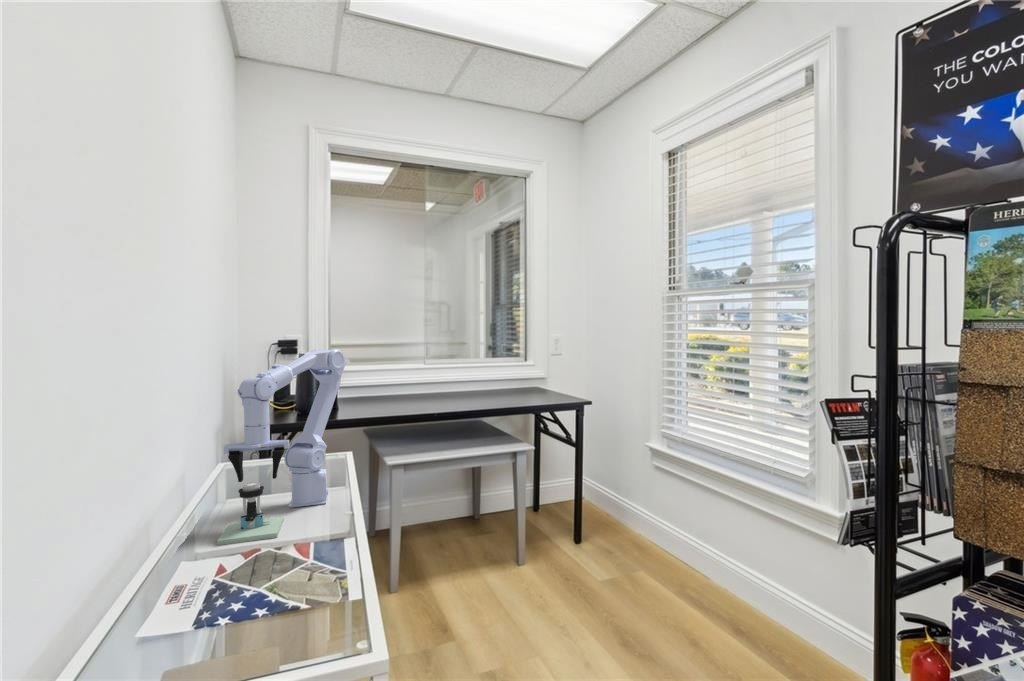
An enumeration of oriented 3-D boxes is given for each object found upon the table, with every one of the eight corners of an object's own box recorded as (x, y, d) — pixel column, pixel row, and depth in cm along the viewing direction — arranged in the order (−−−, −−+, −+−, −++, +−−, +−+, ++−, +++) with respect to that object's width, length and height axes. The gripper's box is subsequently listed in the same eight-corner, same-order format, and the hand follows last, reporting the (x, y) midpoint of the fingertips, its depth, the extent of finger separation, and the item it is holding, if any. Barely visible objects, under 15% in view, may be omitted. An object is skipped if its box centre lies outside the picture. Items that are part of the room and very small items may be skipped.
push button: (270, 520, 121) (269, 479, 121) (271, 527, 116) (270, 484, 116) (239, 525, 117) (238, 483, 118) (238, 532, 113) (238, 488, 113)
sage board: (283, 520, 123) (283, 516, 123) (277, 537, 112) (277, 532, 112) (229, 527, 120) (229, 522, 120) (217, 545, 108) (217, 540, 108)
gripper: (220, 429, 118) (221, 486, 117) (286, 425, 122) (287, 480, 122) (227, 425, 124) (228, 479, 124) (289, 421, 129) (290, 473, 129)
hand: (257, 479), depth 124 cm, fingers open, 7 cm apart
